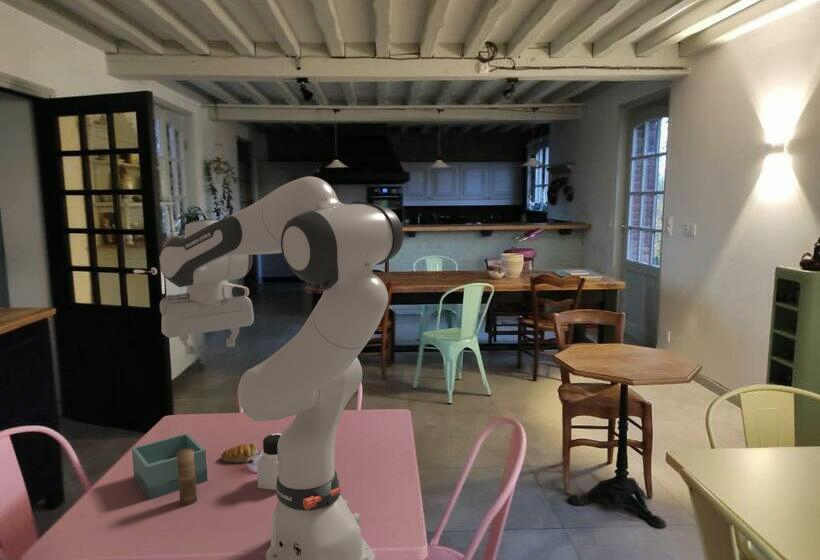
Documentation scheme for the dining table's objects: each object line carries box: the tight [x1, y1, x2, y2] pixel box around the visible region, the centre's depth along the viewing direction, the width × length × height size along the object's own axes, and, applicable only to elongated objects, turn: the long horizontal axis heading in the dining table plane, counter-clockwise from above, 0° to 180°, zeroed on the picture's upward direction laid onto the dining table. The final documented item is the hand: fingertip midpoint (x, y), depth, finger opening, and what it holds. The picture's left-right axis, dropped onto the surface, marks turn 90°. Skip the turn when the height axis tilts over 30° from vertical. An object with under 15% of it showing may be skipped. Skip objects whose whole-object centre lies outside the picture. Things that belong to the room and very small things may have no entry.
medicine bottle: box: [256, 433, 282, 491], centre depth 132 cm, size 7×7×12 cm
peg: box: [177, 449, 198, 506], centre depth 124 cm, size 4×4×12 cm
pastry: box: [220, 442, 259, 464], centre depth 146 cm, size 9×7×4 cm
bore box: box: [131, 432, 208, 501], centre depth 135 cm, size 14×14×8 cm
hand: (210, 350), depth 125 cm, fingers open, 8 cm apart
